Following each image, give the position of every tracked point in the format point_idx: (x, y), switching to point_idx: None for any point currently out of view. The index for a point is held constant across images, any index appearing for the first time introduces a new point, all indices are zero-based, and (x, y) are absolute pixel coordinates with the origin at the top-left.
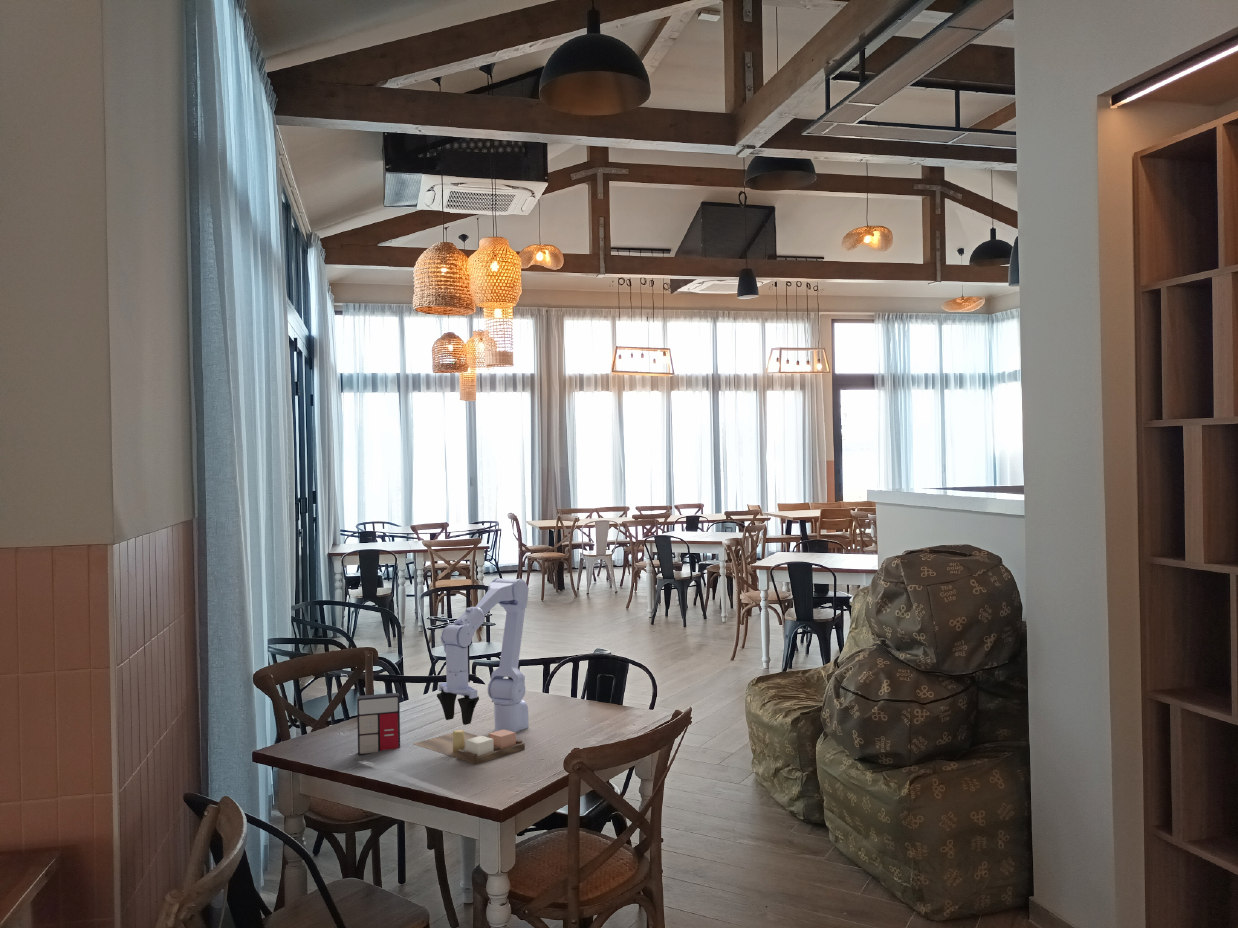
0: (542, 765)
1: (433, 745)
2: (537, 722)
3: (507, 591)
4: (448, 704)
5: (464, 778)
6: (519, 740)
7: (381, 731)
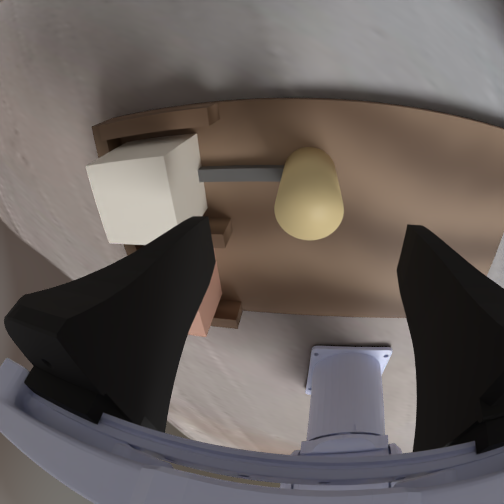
0: (60, 251)
1: (456, 158)
2: None
3: None
4: (441, 324)
5: (63, 49)
6: None
7: None
